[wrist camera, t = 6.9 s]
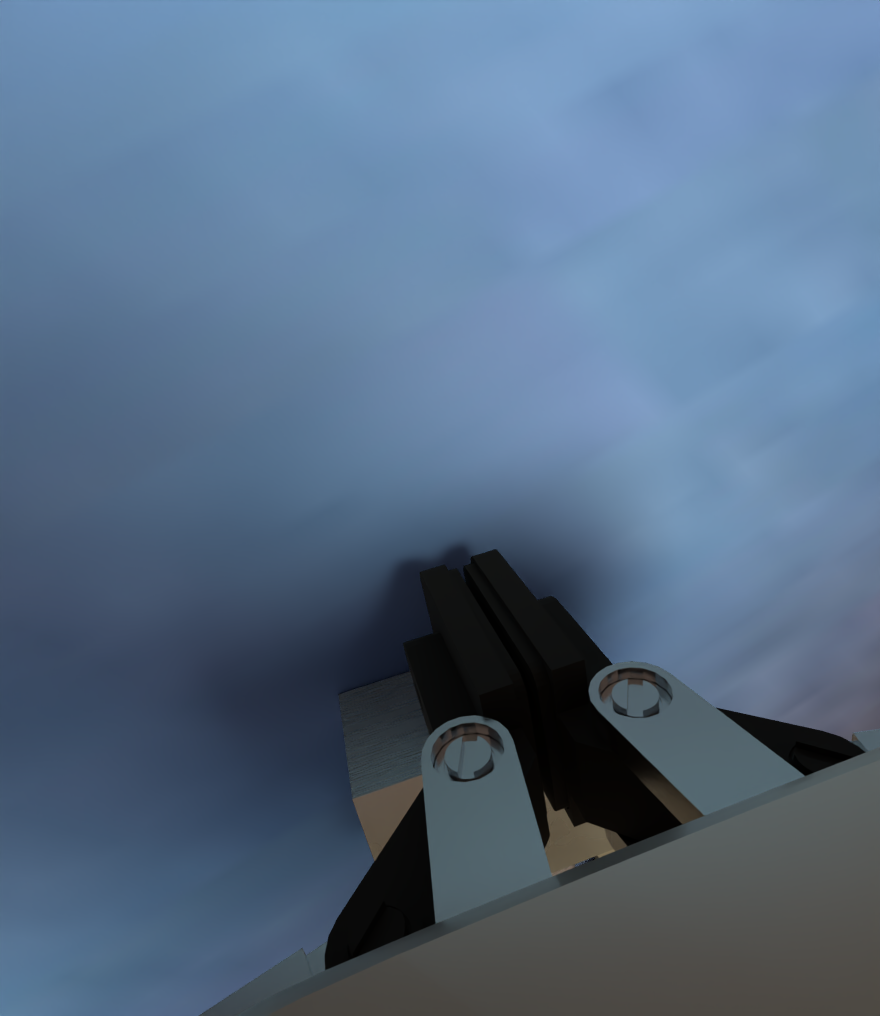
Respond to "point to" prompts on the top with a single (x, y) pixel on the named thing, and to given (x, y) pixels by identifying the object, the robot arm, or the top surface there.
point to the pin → (398, 774)
